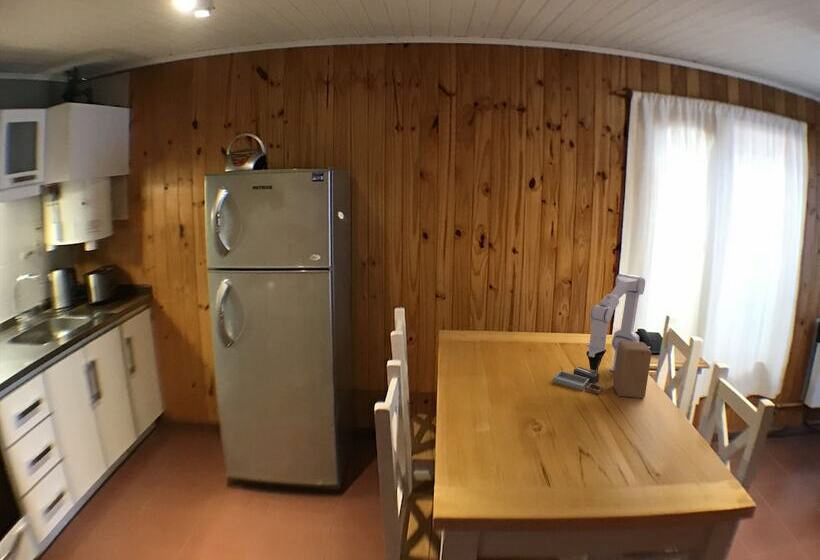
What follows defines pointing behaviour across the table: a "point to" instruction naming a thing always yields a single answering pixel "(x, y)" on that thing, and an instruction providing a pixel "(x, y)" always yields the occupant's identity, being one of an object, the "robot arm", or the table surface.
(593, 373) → the pin
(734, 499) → the table surface
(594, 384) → the collar
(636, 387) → the wooden block
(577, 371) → the block
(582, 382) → the tray
